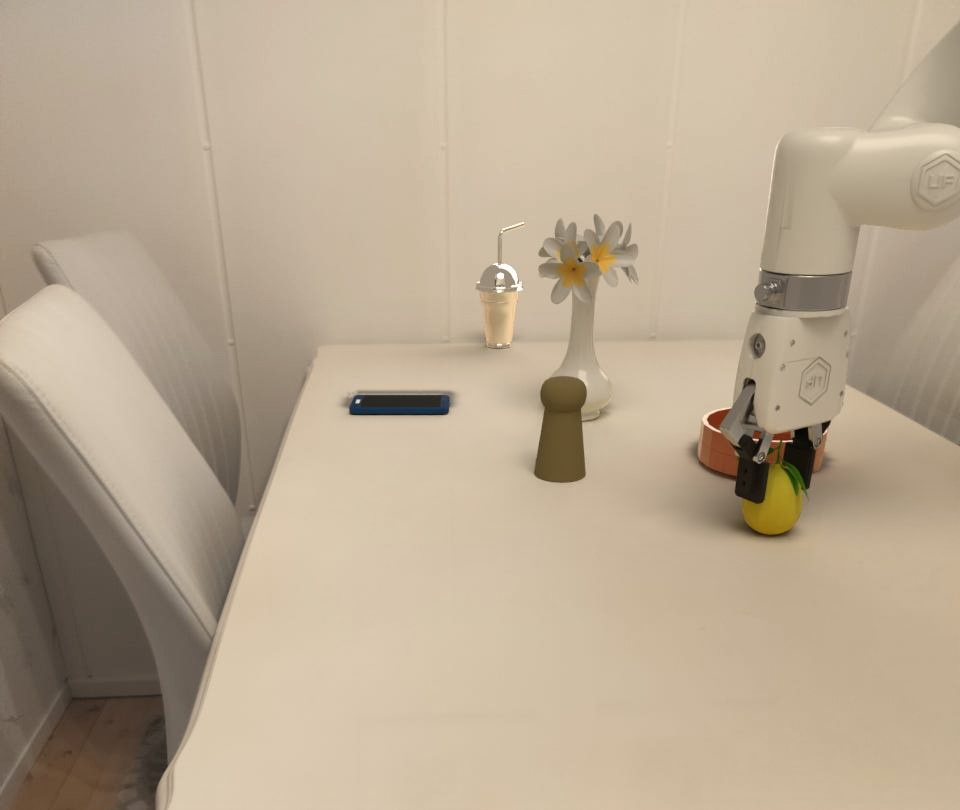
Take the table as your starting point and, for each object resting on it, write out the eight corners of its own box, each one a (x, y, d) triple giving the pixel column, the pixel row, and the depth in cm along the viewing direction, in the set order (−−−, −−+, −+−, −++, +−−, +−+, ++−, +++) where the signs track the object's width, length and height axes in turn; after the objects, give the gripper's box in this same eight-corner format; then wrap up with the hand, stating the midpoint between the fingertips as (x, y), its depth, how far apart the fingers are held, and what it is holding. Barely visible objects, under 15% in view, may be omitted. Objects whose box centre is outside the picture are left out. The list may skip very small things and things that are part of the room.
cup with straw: (471, 341, 168) (470, 222, 158) (519, 339, 169) (522, 221, 159) (479, 351, 161) (479, 227, 151) (530, 349, 162) (533, 226, 152)
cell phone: (354, 399, 133) (354, 394, 133) (449, 399, 134) (449, 394, 133) (348, 414, 127) (348, 408, 127) (448, 414, 127) (448, 408, 127)
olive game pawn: (556, 486, 103) (561, 388, 98) (523, 471, 107) (525, 376, 102) (596, 475, 106) (603, 379, 101) (562, 461, 110) (567, 368, 105)
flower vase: (526, 434, 120) (531, 225, 107) (539, 396, 135) (545, 210, 123) (626, 439, 118) (644, 227, 105) (628, 400, 134) (643, 212, 121)
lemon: (727, 524, 93) (739, 428, 88) (786, 524, 93) (801, 427, 88) (741, 552, 87) (754, 451, 82) (804, 552, 87) (821, 450, 82)
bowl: (755, 439, 118) (761, 400, 116) (845, 470, 108) (854, 428, 105) (672, 458, 112) (677, 417, 109) (760, 493, 101) (767, 449, 99)
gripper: (764, 310, 72) (736, 525, 81) (903, 287, 80) (863, 486, 89) (697, 297, 77) (677, 499, 86) (833, 277, 85) (802, 464, 94)
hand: (772, 490), depth 87 cm, fingers closed on lemon, 5 cm apart
